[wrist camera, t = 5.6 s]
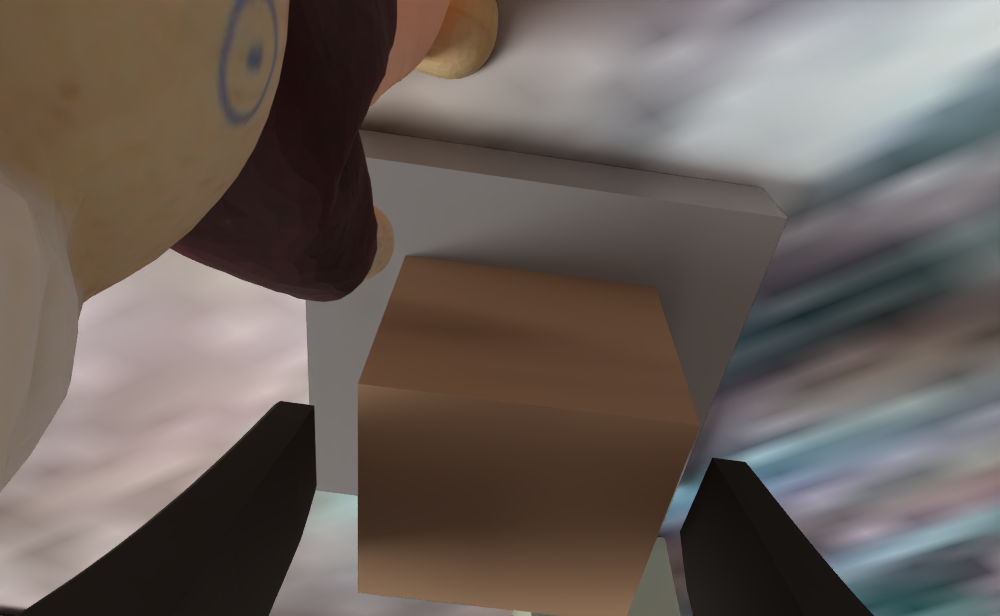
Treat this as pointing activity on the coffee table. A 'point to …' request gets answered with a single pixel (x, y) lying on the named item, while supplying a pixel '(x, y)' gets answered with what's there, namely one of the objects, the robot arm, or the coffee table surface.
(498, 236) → the plinth
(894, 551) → the coffee table surface
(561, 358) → the walnut block
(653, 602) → the sage block
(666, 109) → the coffee table surface
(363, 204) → the grandmother figurine
